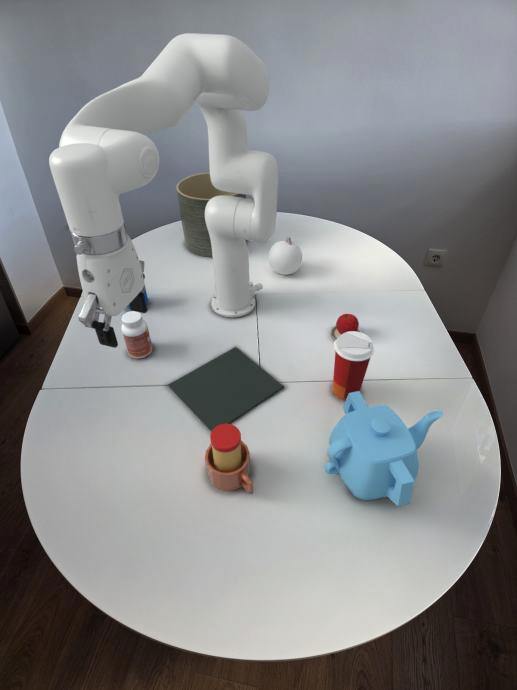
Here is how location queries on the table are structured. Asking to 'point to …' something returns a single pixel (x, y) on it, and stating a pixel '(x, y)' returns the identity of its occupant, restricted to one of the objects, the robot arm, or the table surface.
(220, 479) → the terracotta mug
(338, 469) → the teapot
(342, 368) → the coffee cup
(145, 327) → the pill bottle
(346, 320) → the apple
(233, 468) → the jar
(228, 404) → the mat
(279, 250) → the ornament
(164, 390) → the table surface
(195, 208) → the planter
